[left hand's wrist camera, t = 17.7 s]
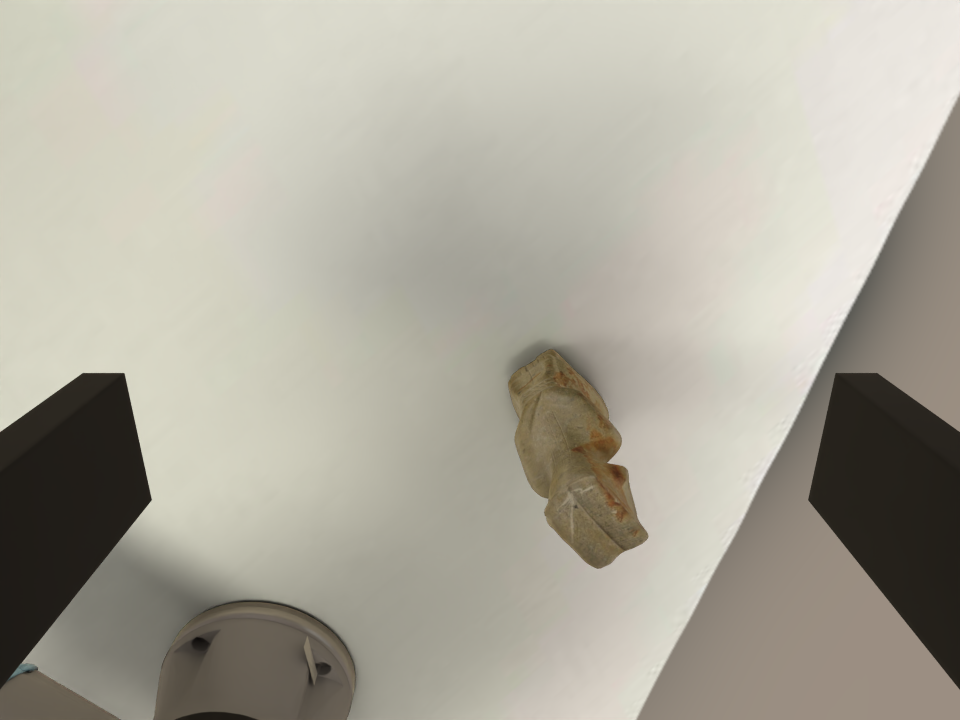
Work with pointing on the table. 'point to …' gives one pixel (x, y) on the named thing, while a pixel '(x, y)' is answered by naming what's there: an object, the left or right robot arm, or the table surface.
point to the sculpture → (574, 460)
